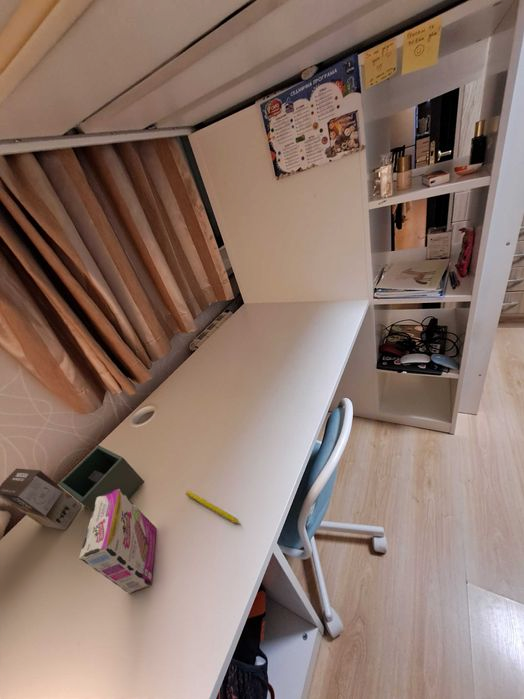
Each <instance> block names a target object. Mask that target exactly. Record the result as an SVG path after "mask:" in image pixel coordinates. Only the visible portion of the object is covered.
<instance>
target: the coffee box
mask: <svg viewBox="0 0 524 699" xmlns="http://www.w3.org/2000/svg"><path fill="white" fill-rule="evenodd" d="M0 498H1V499H2V500H3V501H5V502H7V503H8V505H11V506H12V507H14V508H15V509H17V510H18V511H20V512H21V513H23V514H24V515H25V516H28V517H29V518H30V519H32V520H33V521H35V522H36V523H38V524H39V525H40V526H42V527H47V528H52V529H58V530H63V531H65V530H67V528H69V526H70V524H71V523H72V521H73V520H74V519H75V517H76V515H77V514H78V513H79V511H80V510H81V508H82V506H83V505H82V504H81V503H80V502H79V501H78V500H76V499H75V498H74V497H73V496H72V495H70V494H69V493H68V492H67V491H66V490H64V489H63V488H62V487H61V486H60V485H58V483H57V482H55V481H54V480H53V479H51V478H50V477H49V476H48V475H47V474H46V473H44V472H43V471H42V470H40V469H26V468H17V467H16V468H15V469H14V470H13V471H12V472H11V473H10V474H9V475H8V476H7V477H6V478H5V480H3V481H2V483H0Z"/></svg>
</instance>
